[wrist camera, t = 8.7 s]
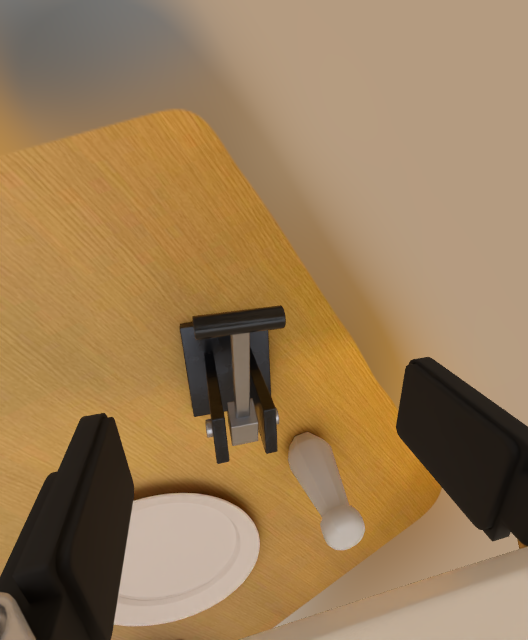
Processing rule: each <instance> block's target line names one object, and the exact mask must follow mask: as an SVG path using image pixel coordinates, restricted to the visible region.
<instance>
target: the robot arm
mask: <svg viewBox="0 0 528 640" xmlns="http://www.w3.org/2000/svg"><path fill="white" fill-rule="evenodd" d="M396 430H397V433H398V435H399V437H400V438H401V439H402V440H403V442H404V443H405V444H406V445H407V446H408V448H409V449H410V450H411V451H412V452H413V453H414V455H415V456H416V457H417V458H418V459H419V461H420V462H421V463H422V464H423V465H424V466H425V468H426V469H427V470H428V471H429V472H430V474H431V475H432V476H433V477H434V478H435V479H436V481H437V482H438V483H439V484H440V485H441V487H442V488H443V489H444V490H445V491H446V493H447V494H448V495H449V496H450V497H451V498H452V500H453V501H454V502H455V503H456V504H457V506H458V507H459V508H460V509H461V510H462V511H463V513H464V514H465V515H466V516H467V517H468V519H469V520H470V521H471V522H472V523H473V524H474V525H475V526H476V527H477V528H478V529H480V530H483V531H484V532H485V533H486V535H487V536H488V537H489V538H490V539H491V540H492V541H495V540H499V539H502V538H505V537H508V536H509V535H510V532H512V533H513V535H514V536H515V537H516V538H517V539H518V545H519V549H518V550H516V551H512V552H509V553H506V554H502V555H499V556H496V557H493V558H490V559H487V560H484V561H480V562H477V563H474V564H471V565H467V566H464V567H461V568H458V569H455V570H452V571H449V572H445V573H442V574H439V575H436V576H433V577H430V578H427V579H423V580H420V581H417V582H414V583H411V584H408V585H405V586H402V587H399V588H396V589H392V590H389V591H386V592H383V593H380V594H377V595H374V596H371V597H368V598H365V599H362V600H358V601H355V602H352V603H349V604H346V605H343V606H340V607H337V608H334V609H331V610H327V611H325V612H321V613H318V614H315V615H312V616H309V617H307V618H303V619H300V620H297V621H294V622H291V623H288V624H285V625H282V626H279V627H276V628H273V629H270V630H266V631H263V632H260V633H257V634H254V635H251V636H248V637H245V638H242V639H239V640H528V427H527V426H526V425H525V424H523V423H522V422H520V421H519V420H518V419H516V418H515V417H513V416H512V415H511V414H509V413H508V412H506V411H505V410H504V409H502V408H501V407H499V406H498V405H497V404H495V403H494V402H492V401H491V400H490V399H488V398H487V397H485V396H484V395H483V394H481V393H480V392H478V391H477V390H476V389H474V388H473V387H471V386H470V385H468V384H467V383H466V382H464V381H463V380H461V379H460V378H459V377H457V376H456V375H455V374H453V373H452V372H450V371H449V370H448V369H446V368H445V367H443V366H442V365H440V364H439V363H437V362H436V361H435V360H433V359H432V358H430V357H425V358H420V359H413V360H411V361H410V362H409V365H407V366H406V369H405V374H404V381H403V387H402V393H401V399H400V406H399V411H398V418H397V424H396ZM133 499H134V484H133V480H132V477H131V473H130V470H129V467H128V463H127V460H126V456H125V453H124V450H123V446H122V443H121V440H120V436H119V433H118V430H117V426H116V423H115V420H114V418H113V417H109V418H107V415H106V414H105V413H101V414H96V415H90V416H84V417H82V418H81V419H80V421H79V423H78V426H77V428H76V430H75V433H74V435H73V437H72V440H71V442H70V444H69V446H68V449H67V451H66V453H65V456H64V458H63V460H62V463H61V465H60V467H59V469H58V472H53V473H51V474H50V475H48V477H47V478H46V480H45V482H44V484H43V486H42V488H41V490H40V492H39V494H38V497H37V499H36V501H35V503H34V505H33V507H32V510H31V512H30V514H29V516H28V518H27V520H26V522H25V525H24V527H23V529H22V531H21V533H20V535H19V538H18V540H17V542H16V544H15V546H14V548H13V551H12V553H11V555H10V557H9V559H8V561H7V563H6V566H5V568H4V570H3V572H2V574H1V576H0V640H110V639H111V636H112V631H113V625H114V619H115V613H116V606H117V600H118V594H119V588H120V581H121V575H122V569H123V562H124V556H125V550H126V543H127V537H128V531H129V524H130V518H131V512H132V505H133Z"/></svg>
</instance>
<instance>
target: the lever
mask: <svg viewBox="0 0 528 640" xmlns="http://www.w3.org/2000/svg"><path fill="white" fill-rule="evenodd" d="M285 324H286V319H285V312H284V309H283V307H282V306H281V305H280V306H272V307H264V308H256V309H248V310H239V311H231V312H223V313H215V314H206V315H198V316H193V327H194V334H195V339H196V340H200V339H207V338H215V337H222V336H229V335H231V353H232V370H233V388H234V402H228V403H227V412H228V423H229V429H230V435H231V441H232V446H235V445H240V444H245V443H250V442H255V441H258V424H259V422H258V418H257V414H256V410H255V406H254V402H253V398H251V399H250V333H252V332H259V331H266V330H274V329H281V328H284V327H285Z"/></svg>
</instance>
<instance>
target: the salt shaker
mask: <svg viewBox="0 0 528 640" xmlns="http://www.w3.org/2000/svg"><path fill="white" fill-rule="evenodd" d="M288 462H289V465H290V469H291V471H292V472H293V474H294V475H295V477H296V478H297V480H298V481H299V483H300V484H301V486H302V488H303V489H304V491H305V492H306V494H307V495H308V497H309V498H310V500H311V501H312V503H313V504H314V506H315V507H316V509H317V510H318V512H319V513H320V515H321V516H322V521H321V523H320V525H321V530H322V533H323V536H324V539H325V541H326V542H327V544H328V545H329V546H330V547H332V548H333V549H336V550H345V549H349V548H351V547H353V546H355V545H356V544H357V543H358V542H359V541H360V540H361V539H362V537H363V534H364V531H365V526H364V522H363V519H362V517H361V515H360V513H359V512H358V511H357V510H356V509H355V508H354V507H352V506H350V505H349V503H348V500H347V497H346V493H345V490H344V487H343V484H342V481H341V477H340V474H339V471H338V468H337V465H336V461H335V458H334V455H333V452H332V449H331V446H330V445H329V444H328V443H327V442H326V441H325V440H324V439H322V438H320V437H318V436H316V435H313V434H311V433H309V432H305V433H303V434H300V435H297V436H295V437H294V439H293V441H292V443H291V444H290V446H289V453H288Z"/></svg>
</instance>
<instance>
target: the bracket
mask: <svg viewBox="0 0 528 640" xmlns="http://www.w3.org/2000/svg"><path fill="white" fill-rule="evenodd" d="M180 333H181V339H182V345H183V351H184V358H185V364H186V370H187V376H188V383H189V389H190V395H191V401H192V408H193V414H194V417H197V416H202V415H208V414H211V419H208V420H205V422H206V431H207V437H214V444H215V452H216V459H217V464H220V463H224V462H229V452H228V443H227V435H226V426H225V418H224V412H225V411H227V403H228V402H234V388H233V370H232V353H231V335H229V336H222V337H215V338H207V339H200V340H196V339H195V334H194V327H193V322H191V323H183V324H180ZM251 398H253V402H254V406H255V410H256V414H257V418H258V422H259V424H258V429H259V432H260V436H261V439H262V442H263V445H264V449H265V452H266V454H268V453H272V452H277V425H276V424H279V415H278V411H277V408H276V407H275V405H274V403H273V400H272V398H271V384H270V361H269V338H268V330H266V331H259V332H252V333H250V399H251Z"/></svg>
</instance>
